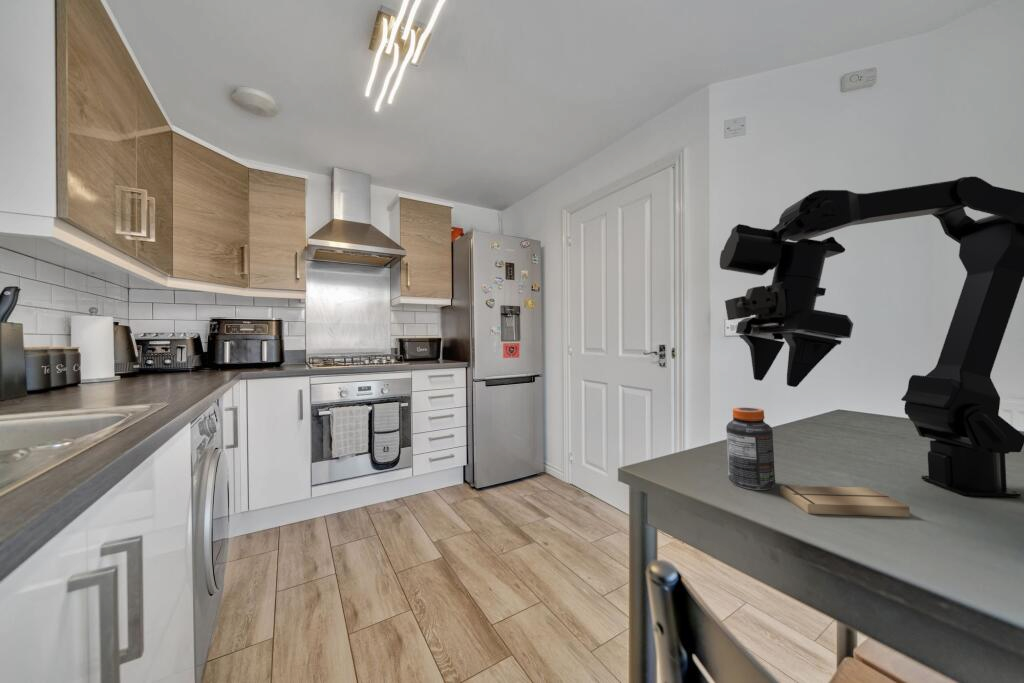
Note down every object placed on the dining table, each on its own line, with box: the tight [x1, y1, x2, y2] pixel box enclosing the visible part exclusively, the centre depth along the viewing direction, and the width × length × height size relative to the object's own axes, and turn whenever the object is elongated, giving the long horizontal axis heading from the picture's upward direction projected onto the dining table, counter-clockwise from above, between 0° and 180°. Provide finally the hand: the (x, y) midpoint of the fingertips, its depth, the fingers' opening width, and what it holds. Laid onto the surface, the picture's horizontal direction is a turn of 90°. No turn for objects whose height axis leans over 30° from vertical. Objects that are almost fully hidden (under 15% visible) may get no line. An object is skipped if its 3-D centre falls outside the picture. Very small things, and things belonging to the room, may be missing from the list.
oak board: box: [779, 485, 911, 518], centre depth 48 cm, size 11×6×1 cm, turn 81°
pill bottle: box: [725, 406, 776, 491], centre depth 56 cm, size 6×6×11 cm
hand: (773, 382), depth 56 cm, fingers open, 9 cm apart
